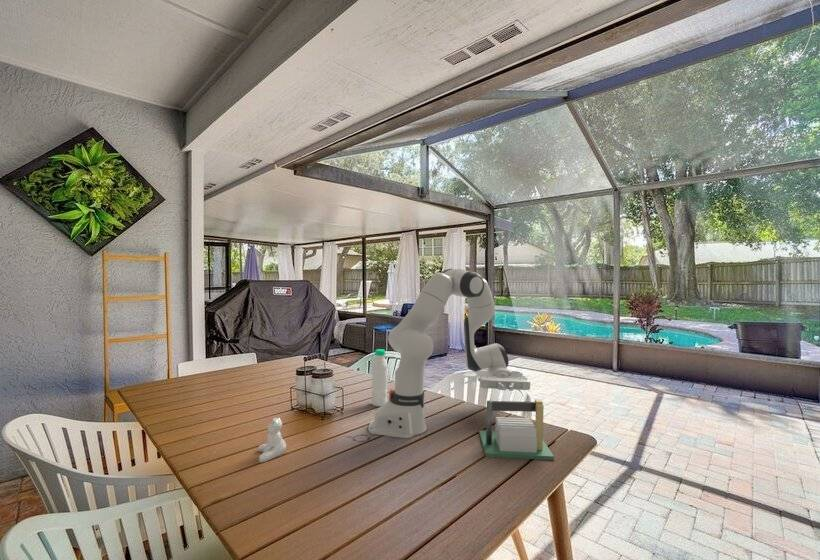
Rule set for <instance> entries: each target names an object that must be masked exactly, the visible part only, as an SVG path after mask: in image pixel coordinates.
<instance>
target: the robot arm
mask: <svg viewBox="0 0 820 560" xmlns="http://www.w3.org/2000/svg"><path fill="white" fill-rule="evenodd" d="M452 295H454V296H457V297H462V298H463V297H464V298H466V301H467V305H468V313H467V316H465V317H464V319H463V331H464V332H463V335H464V350H465V351H464V353H465V354H464V361H465V365H466V367H467V369H468V370H469V371H472V372H474V373H476V372H479V371H482V370H485V369H487V375H485V374H484V375H482V374H481V375H480V377H478V378H477V381H478V382H479V387H480V388H482V389H492V390H493V389H494V390H500V391H507V390H508V391H512V392H513V391H514V390H519V391H529V390H531V380H530V379H529V378H528V377H527V376H525V375H523V372H522V371H516V370H510V369H508V367H509V363H510V362H509V361H510V360H509V357H508V353H507V351H506V349H505V347H504V346H503V345H501V344H500V343H498V342H497V343H496V342H495V343H490V344H488V345H485V346H480V347H475V333H476V331H477V330H478V329H480V328H481V327H482V326H484V325H485V324H487V323H488V322H489V321H490V320H492V318H493V317H494V315H495V312H496V308H495V307H496V305H495V301H494V300H495V299H494V297H493V292H492V290H491V288H490V285H489V283H488V281H487V280H486V279H484V278H483V276H482V275H480V274H479V273H477V272H476V271H473V270H465V269H462V268H461V269H460V268H448V269H444V270H443V271H441V272H435V273H434V274H432V275H431V276H430V278H429V279H428V280H427V282H426V283H425V284H424V285H423V288H422V289H421V291H420V292H419V294H418V296H417V298H416V300H415V302H414V304H413V305H412V307H411V309H410V310H409V312H407V314H406V315H405V316H404V317H403V319H402V320H401V321H400V322H399V323H398V324H397V325H396V326H395V327H393V328H392V329H391V330H390V331H389V333H388V338H387V341H388V343H389V345H390V346H391V348H392V350H394V351H395V352H397V353H398V354H400V358H399V363H398V367H397V368H396V370H394V388H390V389H389V391H388V392H389V395H388V396H389V398H388V399H389V400H387V403H385V404H384V405H382V406H379V408H378V409H377V410H376V413H375V414H374V418H373V419H372V420H370V422H369V424H368V428H367V429H368V430H367V431H368V433H370V434H371V435H378V436H379V435H380V436H384V437H393V438H394V437H395V438H399V439H400V438H401V439H410V438H412V437H414V436H418V435H421V434H423V433H425V432H426V431H427V428H428V427H427V424H426V417H425V409H424V407H425V391H424V375H425V369H426V368H425V367H426V365H427V361H428V359H429V358H430V356H432V354H433V352H434V348H435V346H434V340H433V339H432V337H430V335H428V334H427V333H426V331H427V330H428V329H429V328H430V327H432V326H434V325H435V324H436V323H437V322H438V319H439V318H440V316H441V315H442V312H443V310H444V308H445V306H446V304H447V302H448V300H449V298H450V297H451V296H452Z"/></svg>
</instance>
